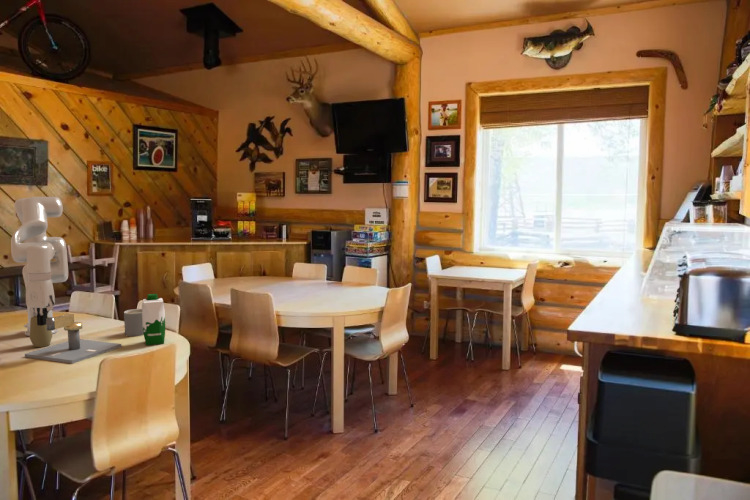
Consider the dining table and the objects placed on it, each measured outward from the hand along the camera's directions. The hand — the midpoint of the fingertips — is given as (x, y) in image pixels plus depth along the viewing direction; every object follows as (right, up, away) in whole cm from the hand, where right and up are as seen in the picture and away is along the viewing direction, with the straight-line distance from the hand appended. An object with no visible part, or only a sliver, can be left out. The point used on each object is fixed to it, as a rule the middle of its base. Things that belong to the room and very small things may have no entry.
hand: (42, 324), depth 222 cm
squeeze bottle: (-10, -11, +17) cm, 22 cm away
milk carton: (+35, -10, +21) cm, 42 cm away
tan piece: (+7, -3, +3) cm, 8 cm away
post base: (+8, -12, +8) cm, 16 cm away
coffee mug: (+22, -9, +38) cm, 45 cm away
